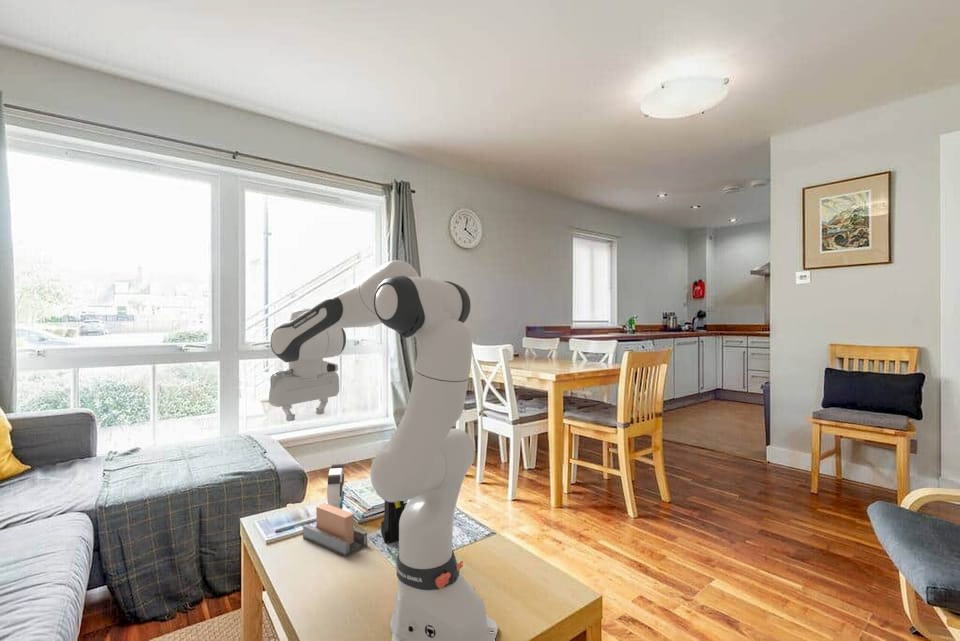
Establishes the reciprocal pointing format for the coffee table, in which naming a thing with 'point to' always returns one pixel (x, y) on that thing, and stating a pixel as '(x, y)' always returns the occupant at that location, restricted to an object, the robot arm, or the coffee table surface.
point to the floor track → (335, 540)
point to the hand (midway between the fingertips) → (305, 417)
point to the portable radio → (391, 521)
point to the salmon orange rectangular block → (335, 522)
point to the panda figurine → (336, 487)
